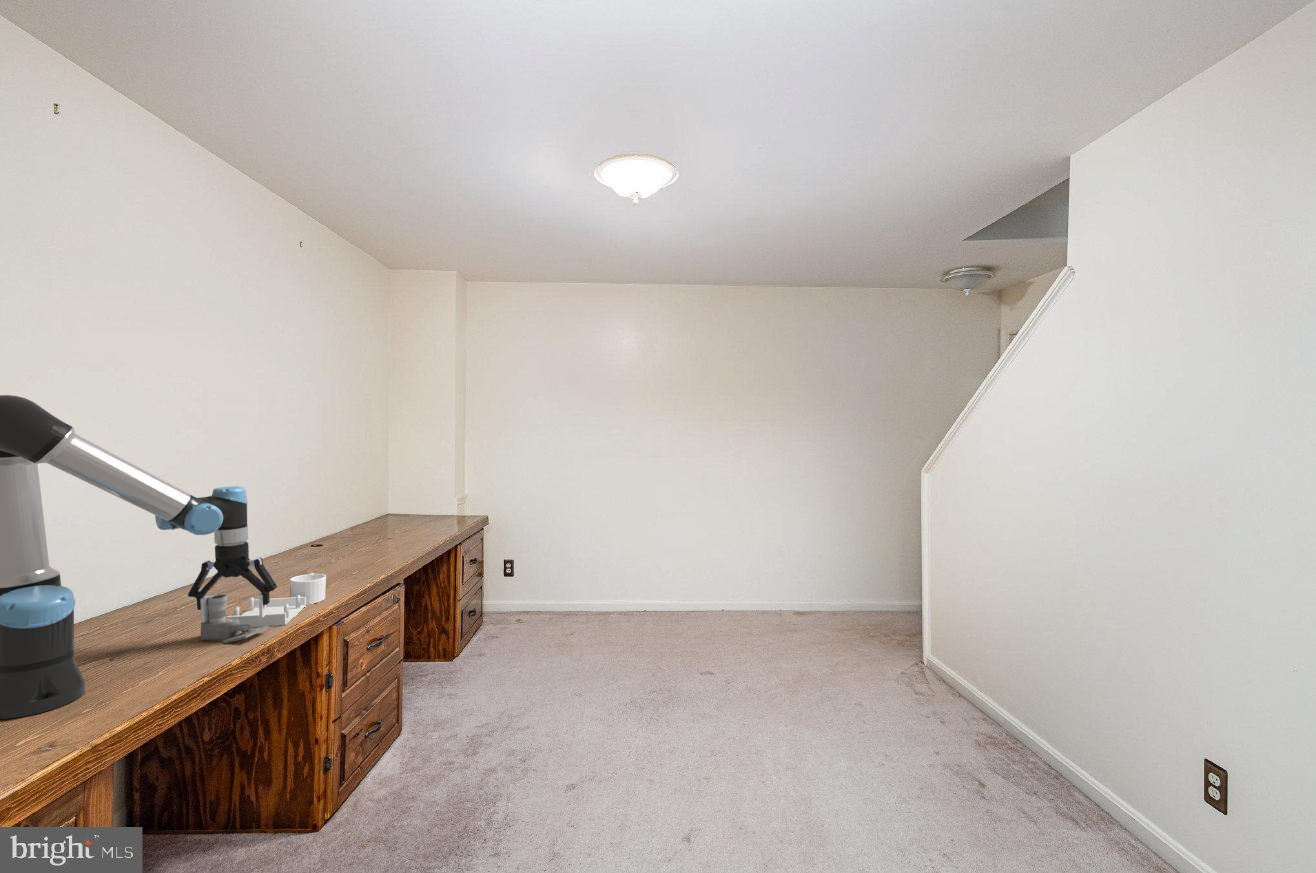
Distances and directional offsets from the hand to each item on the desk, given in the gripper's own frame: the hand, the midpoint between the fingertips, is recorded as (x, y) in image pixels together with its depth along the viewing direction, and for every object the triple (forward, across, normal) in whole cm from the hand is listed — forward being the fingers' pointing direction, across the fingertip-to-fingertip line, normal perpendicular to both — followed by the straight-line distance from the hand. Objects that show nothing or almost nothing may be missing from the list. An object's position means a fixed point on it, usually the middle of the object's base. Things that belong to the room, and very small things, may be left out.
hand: (234, 619), depth 163 cm
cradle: (+6, -2, -17) cm, 18 cm away
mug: (+6, -8, -34) cm, 36 cm away
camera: (+6, +1, 0) cm, 6 cm away
